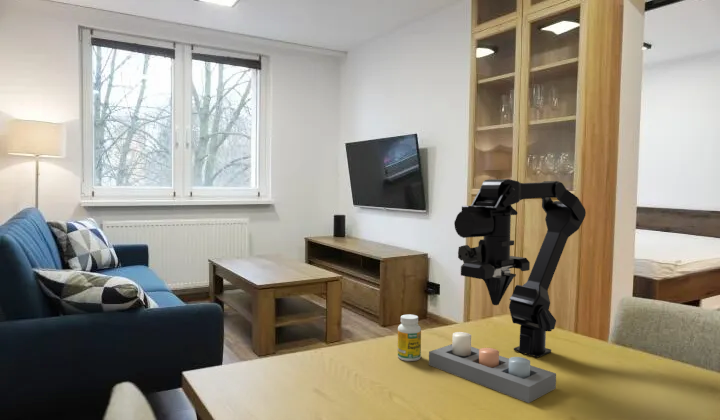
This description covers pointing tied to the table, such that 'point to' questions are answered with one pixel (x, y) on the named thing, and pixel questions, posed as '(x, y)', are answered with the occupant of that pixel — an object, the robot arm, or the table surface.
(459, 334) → the white short cylinder
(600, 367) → the table surface
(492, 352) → the peach rounded piece
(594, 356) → the table surface
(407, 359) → the supplement bottle
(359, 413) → the table surface
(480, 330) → the table surface
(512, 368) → the slate button
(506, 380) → the grey socket tray
